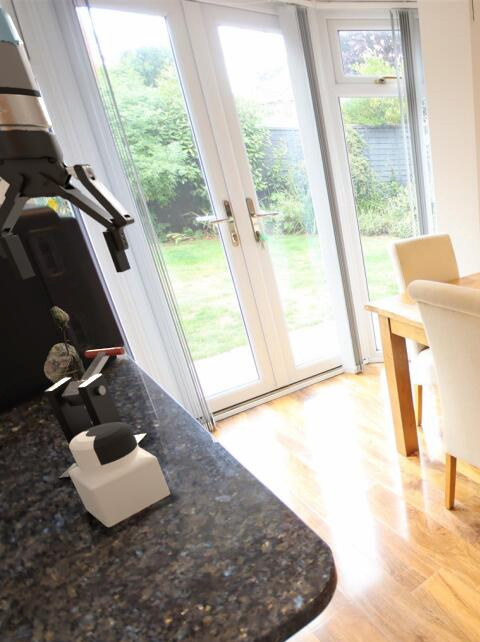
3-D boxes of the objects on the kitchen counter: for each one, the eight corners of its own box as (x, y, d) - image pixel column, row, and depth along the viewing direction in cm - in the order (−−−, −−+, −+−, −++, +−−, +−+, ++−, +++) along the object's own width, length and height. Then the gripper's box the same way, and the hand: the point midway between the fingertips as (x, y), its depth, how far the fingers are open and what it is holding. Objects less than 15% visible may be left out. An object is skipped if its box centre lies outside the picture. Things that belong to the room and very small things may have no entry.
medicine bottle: (149, 483, 66) (119, 411, 62) (173, 499, 63) (144, 424, 58) (88, 514, 61) (50, 437, 56) (111, 534, 57) (73, 454, 53)
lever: (92, 357, 75) (84, 346, 73) (127, 353, 76) (120, 342, 74) (59, 408, 67) (49, 397, 65) (99, 403, 68) (89, 392, 66)
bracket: (101, 446, 76) (68, 371, 71) (149, 439, 77) (120, 365, 72) (61, 485, 67) (20, 402, 62) (116, 477, 68) (80, 394, 63)
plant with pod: (104, 389, 96) (66, 296, 88) (111, 407, 88) (70, 307, 81) (51, 403, 90) (6, 306, 83) (54, 424, 83) (4, 319, 75)
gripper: (-115, 131, 61) (-37, 287, 69) (103, 126, 66) (151, 272, 74) (-63, 133, 67) (2, 275, 75) (130, 129, 72) (172, 263, 80)
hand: (76, 274), depth 74 cm, fingers open, 13 cm apart
